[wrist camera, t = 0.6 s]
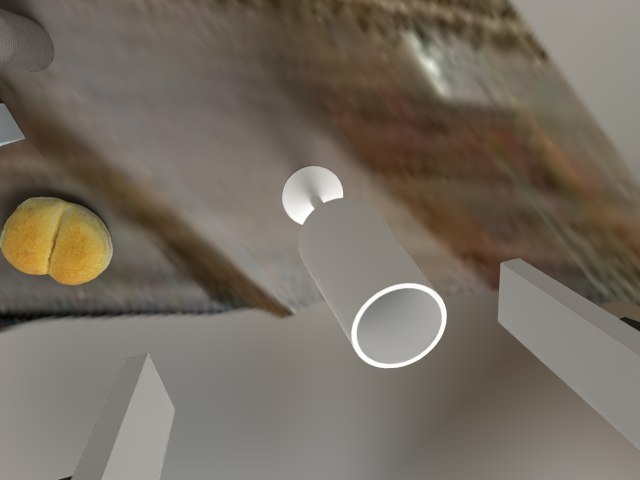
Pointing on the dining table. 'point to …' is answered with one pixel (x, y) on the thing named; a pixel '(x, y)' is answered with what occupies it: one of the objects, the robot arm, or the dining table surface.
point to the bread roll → (56, 240)
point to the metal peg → (23, 44)
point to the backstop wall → (8, 127)
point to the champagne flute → (363, 272)
